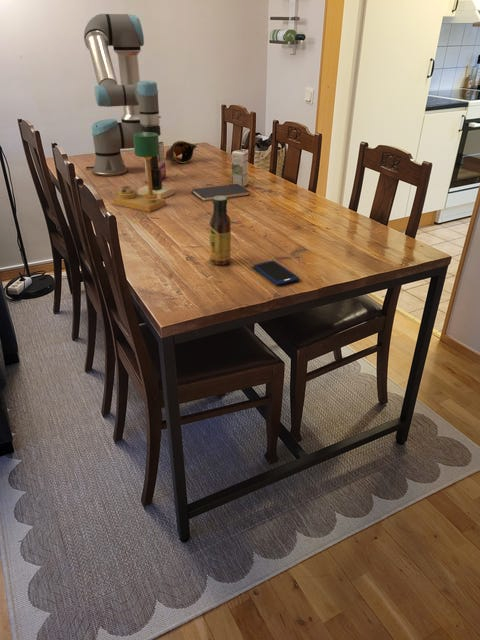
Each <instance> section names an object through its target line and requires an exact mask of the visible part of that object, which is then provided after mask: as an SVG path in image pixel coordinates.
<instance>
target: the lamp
mask: <svg viewBox="0 0 480 640" xmlns="http://www.w3.org/2000/svg"><path fill="white" fill-rule="evenodd" d="M133 140H134V148H133V149H134V155H135V156H136V157H138V158H139V157H140V158H143V160H144V159H146V170H147V181H148V182H147V185H148V192H149V193H148V194H145V195H144V197H145V198H146V199H154V198H157V197H158V196H157V194H155V193H153V190H152V178H151V166H150V159H151V157H154V156H158V155H159V154H160V153H159V141H160V140H159V136H158V134H157V133H153V132H140V133H135V134H133Z"/></svg>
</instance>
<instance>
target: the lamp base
mask: <svg viewBox="0 0 480 640" xmlns="http://www.w3.org/2000/svg"><path fill="white" fill-rule="evenodd" d="M117 195H118V196H117V197H115V198H113V204H114V205H116V206H121V207H126V208H130V209H135V210H140V211H144V212H149V213H150V212H153V211H155V210H157V209H159V208H162V207H164V206H166V205H167V203H166V198H163V199H160V198H154V199H146V198H145V197H144V195H140V194H138V193H137V190H133V189H132V193H131V194H122V190H119V191H118V192H117Z"/></svg>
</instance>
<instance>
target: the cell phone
mask: <svg viewBox="0 0 480 640" xmlns="http://www.w3.org/2000/svg"><path fill="white" fill-rule="evenodd" d="M252 267H253V269H254V270H256V271H257V272H259V273H260V274H261V275H262V276H264V277H265V278H266V279H268V280H269V281H270V282H272V283H274V284H275V285H276V286H283V285H287V284H291V283H294V282H295V283H296V282H298V281H300V277H299V276H298V275H296V274H295V273H293V272H291V271H290V270H289V269H287V268H286V267H284V266H283V265H281V264H279V263H278V262H277V261H275V260H269V261H264V262H260V263H256V264H253V266H252Z"/></svg>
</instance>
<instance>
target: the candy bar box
mask: <svg viewBox="0 0 480 640" xmlns="http://www.w3.org/2000/svg"><path fill="white" fill-rule="evenodd" d="M164 147H165V145H164V140H159V153H160V154H159V155H158V156H157V158H158V168H161V178H162V180H164V179H165V178H166V177H167V170H166V159H165V158H166V157H165V149H164ZM143 161H144V171H145V180H146V183H148V181H147V170H146V159H144V158H143Z"/></svg>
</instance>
